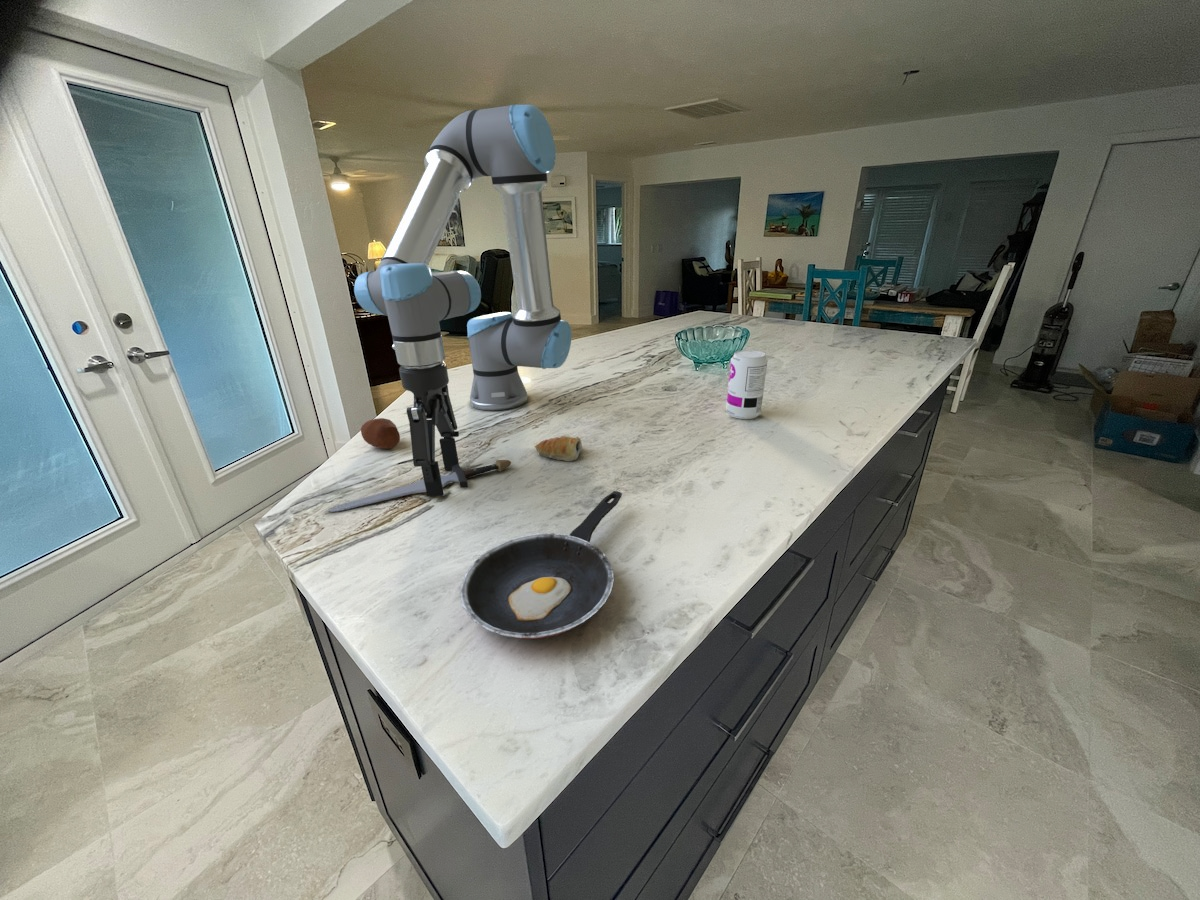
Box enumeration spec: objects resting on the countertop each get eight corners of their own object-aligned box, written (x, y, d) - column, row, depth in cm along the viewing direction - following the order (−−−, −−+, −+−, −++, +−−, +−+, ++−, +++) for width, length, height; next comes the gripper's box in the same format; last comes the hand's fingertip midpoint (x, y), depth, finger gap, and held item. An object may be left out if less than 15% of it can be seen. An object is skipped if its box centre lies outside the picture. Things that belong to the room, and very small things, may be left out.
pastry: (532, 459, 95) (530, 442, 94) (542, 445, 101) (541, 429, 100) (576, 462, 93) (575, 445, 92) (584, 448, 99) (583, 432, 98)
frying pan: (430, 621, 56) (424, 597, 55) (570, 497, 81) (568, 478, 80) (563, 684, 48) (560, 658, 46) (672, 524, 73) (673, 504, 72)
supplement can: (723, 417, 113) (729, 356, 107) (728, 406, 120) (734, 348, 113) (758, 421, 110) (766, 359, 104) (761, 410, 117) (769, 350, 111)
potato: (376, 457, 98) (369, 428, 95) (359, 445, 104) (351, 418, 101) (408, 446, 102) (402, 419, 100) (389, 435, 108) (383, 409, 106)
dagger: (517, 472, 90) (516, 462, 89) (334, 530, 74) (330, 519, 73) (500, 458, 96) (499, 449, 95) (327, 510, 80) (324, 499, 79)
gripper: (423, 348, 88) (443, 456, 97) (369, 383, 68) (401, 514, 77) (462, 348, 88) (478, 455, 97) (421, 382, 68) (446, 513, 77)
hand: (444, 481), depth 87 cm, fingers closed on dagger, 9 cm apart
